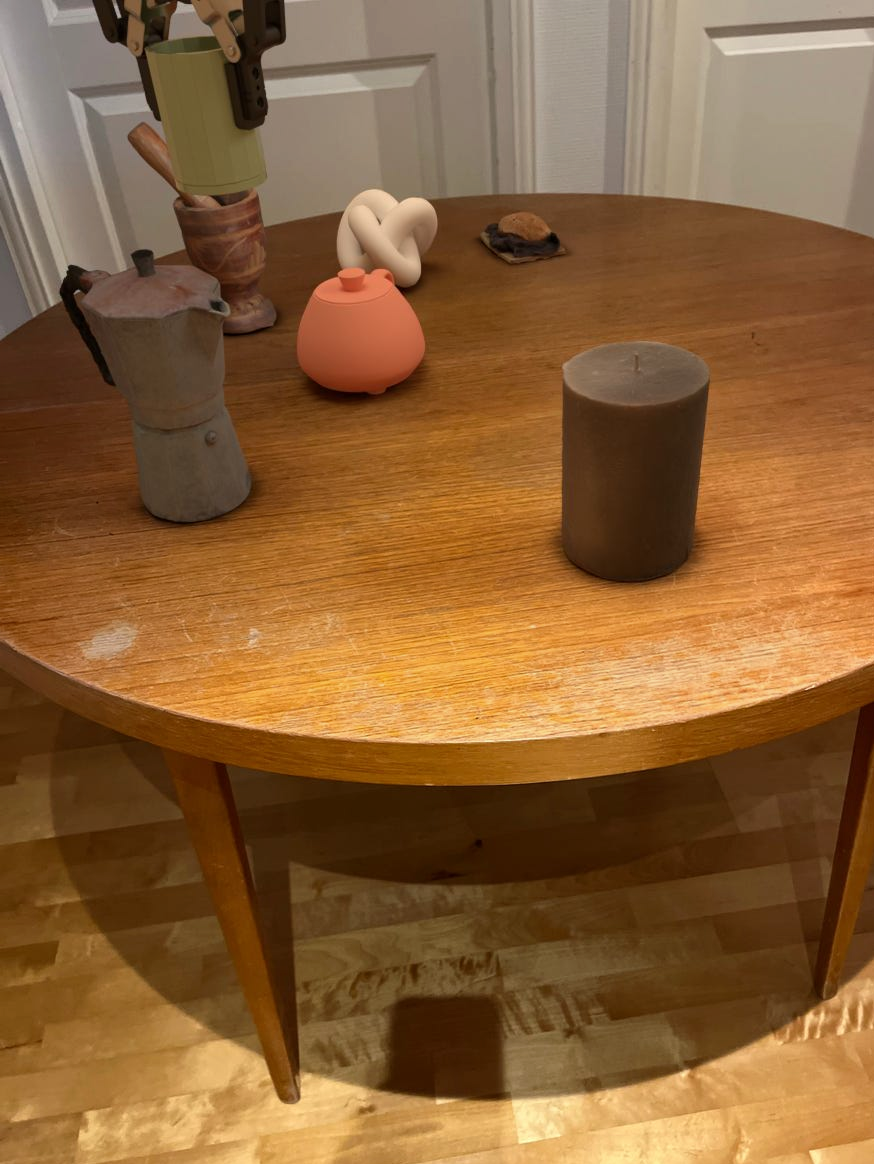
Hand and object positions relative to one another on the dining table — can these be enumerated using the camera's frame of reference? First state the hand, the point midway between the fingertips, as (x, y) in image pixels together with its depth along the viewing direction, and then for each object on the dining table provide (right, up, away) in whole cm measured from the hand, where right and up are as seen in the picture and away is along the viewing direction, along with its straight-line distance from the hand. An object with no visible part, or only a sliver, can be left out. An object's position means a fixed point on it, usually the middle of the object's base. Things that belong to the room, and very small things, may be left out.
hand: (210, 122), depth 63 cm
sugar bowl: (+6, -7, +33) cm, 35 cm away
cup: (0, -3, +2) cm, 4 cm away
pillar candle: (+28, -26, +10) cm, 40 cm away
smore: (+23, +15, +58) cm, 64 cm away
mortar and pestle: (-10, +1, +44) cm, 45 cm away
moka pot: (-6, -22, +18) cm, 29 cm away
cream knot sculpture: (+7, +9, +52) cm, 54 cm away
